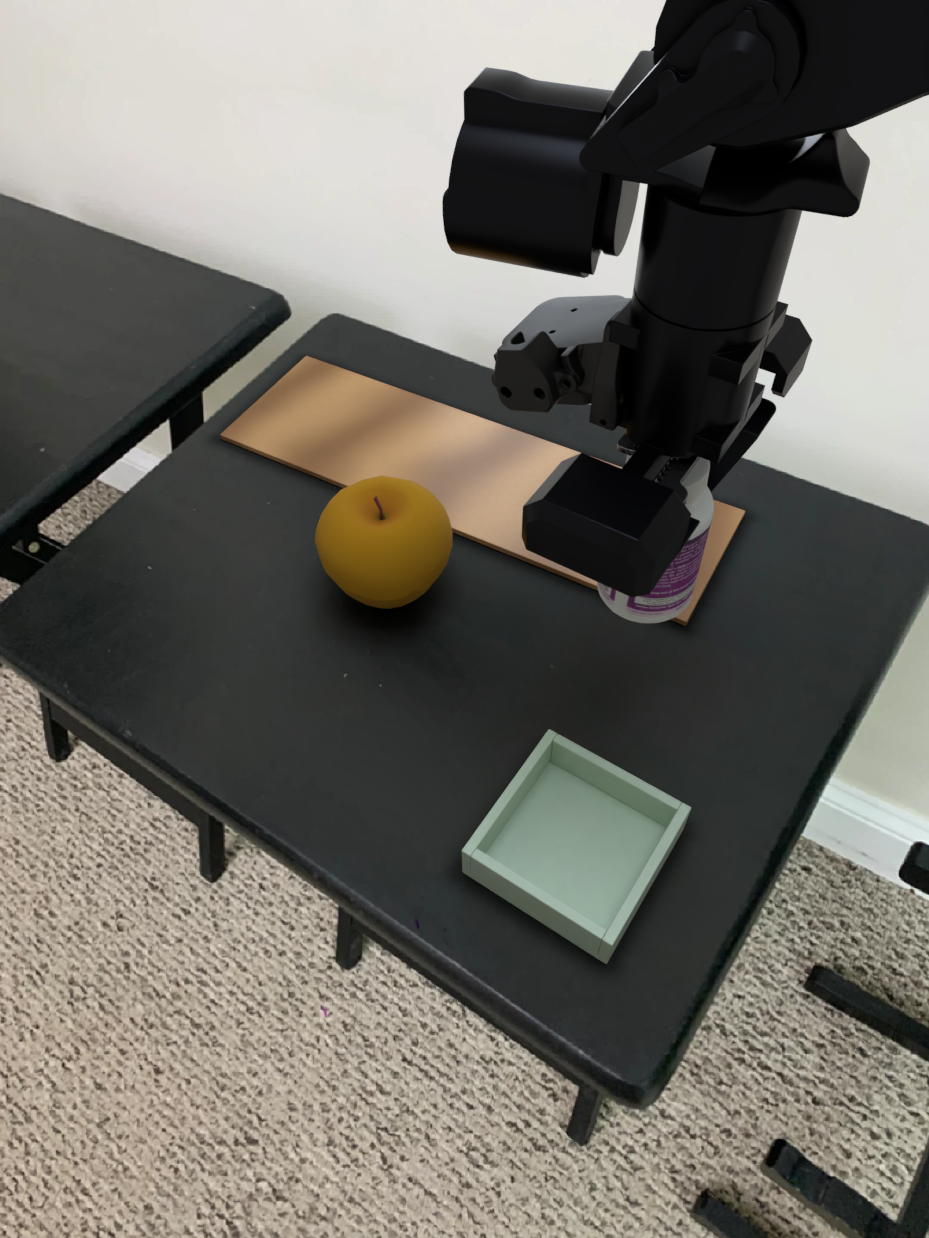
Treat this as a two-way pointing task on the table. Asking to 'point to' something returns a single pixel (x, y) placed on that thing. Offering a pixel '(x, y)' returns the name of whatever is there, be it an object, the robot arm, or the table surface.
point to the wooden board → (425, 456)
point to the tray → (575, 843)
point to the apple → (384, 540)
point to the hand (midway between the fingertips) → (651, 552)
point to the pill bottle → (682, 571)
